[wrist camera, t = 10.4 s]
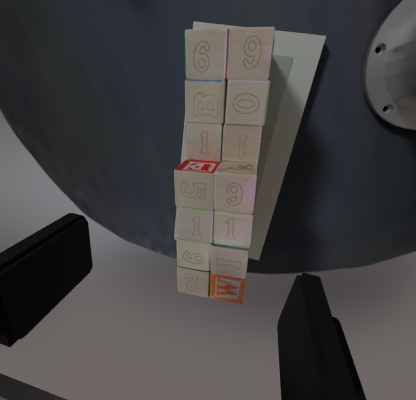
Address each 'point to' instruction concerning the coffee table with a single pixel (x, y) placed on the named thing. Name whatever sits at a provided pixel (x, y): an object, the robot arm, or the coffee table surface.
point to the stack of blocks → (221, 157)
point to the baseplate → (277, 120)
